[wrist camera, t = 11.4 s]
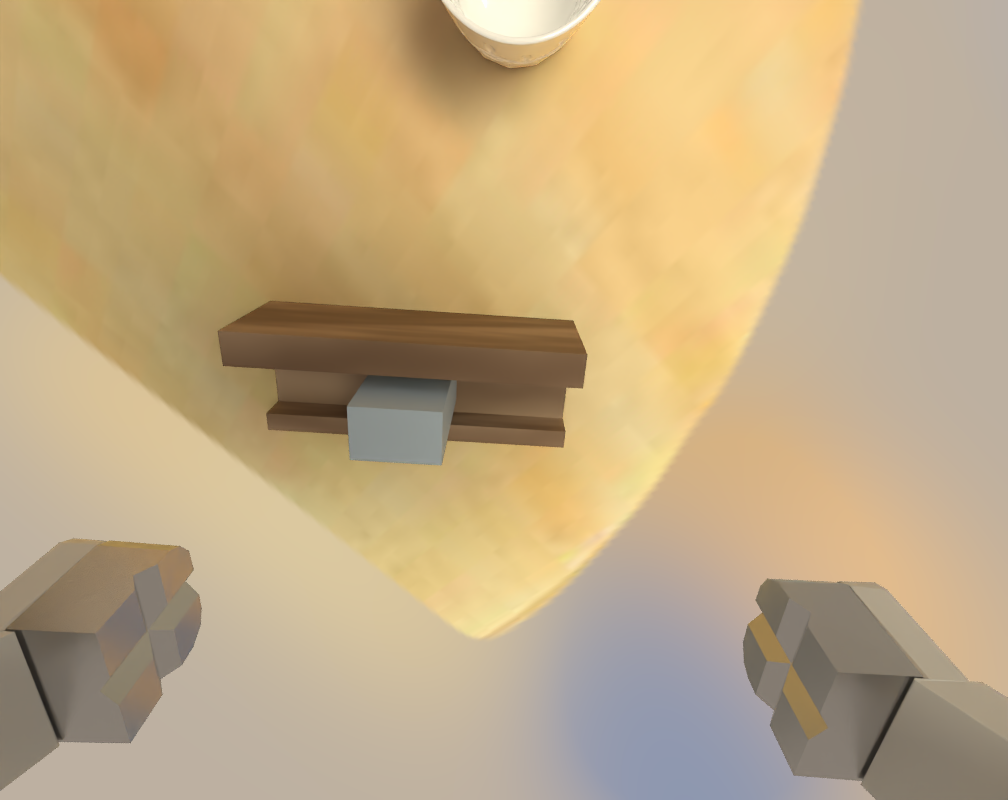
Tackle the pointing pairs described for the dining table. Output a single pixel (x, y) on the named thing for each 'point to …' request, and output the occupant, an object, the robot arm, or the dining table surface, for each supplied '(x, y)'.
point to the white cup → (518, 27)
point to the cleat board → (413, 365)
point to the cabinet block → (401, 419)
